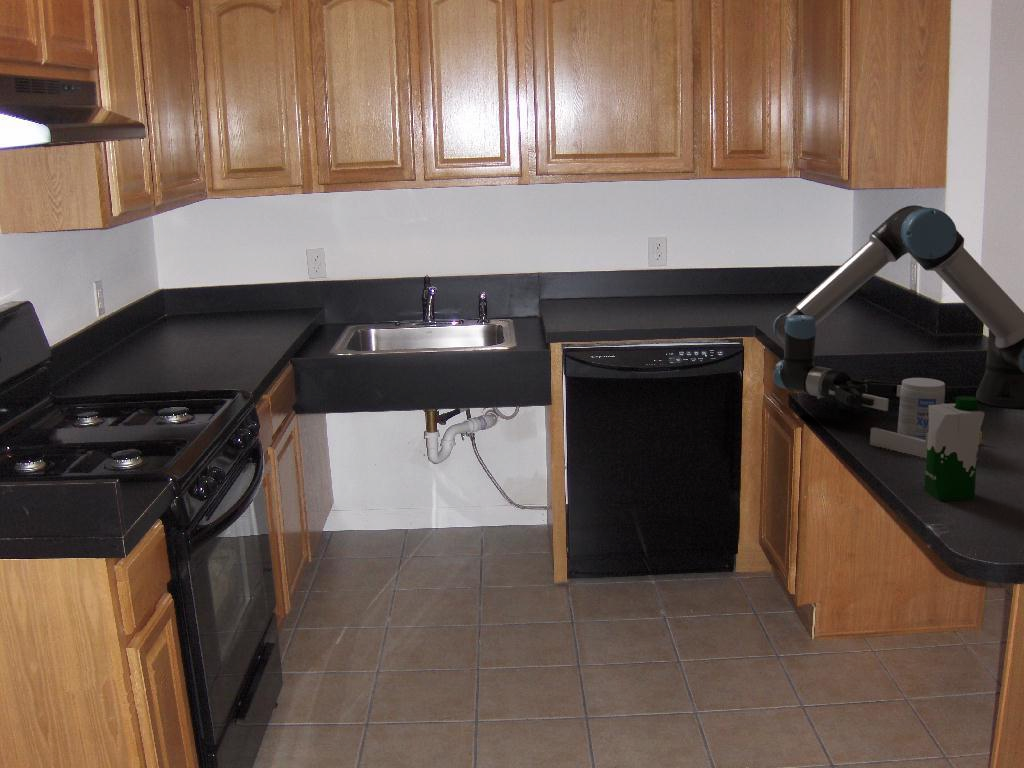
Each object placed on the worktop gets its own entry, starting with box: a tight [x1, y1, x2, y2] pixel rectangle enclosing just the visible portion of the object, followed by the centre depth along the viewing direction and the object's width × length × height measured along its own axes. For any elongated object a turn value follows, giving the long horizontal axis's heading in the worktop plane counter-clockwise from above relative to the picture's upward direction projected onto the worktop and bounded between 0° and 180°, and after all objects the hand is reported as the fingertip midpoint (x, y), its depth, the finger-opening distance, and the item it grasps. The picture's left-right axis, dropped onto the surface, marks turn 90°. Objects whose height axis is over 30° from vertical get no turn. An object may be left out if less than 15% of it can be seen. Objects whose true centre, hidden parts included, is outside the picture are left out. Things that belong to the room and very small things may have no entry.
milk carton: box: [923, 395, 986, 502], centre depth 207 cm, size 9×9×20 cm
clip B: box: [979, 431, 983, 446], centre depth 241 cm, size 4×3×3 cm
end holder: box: [869, 426, 928, 458], centre depth 240 cm, size 15×15×6 cm
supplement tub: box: [896, 377, 946, 440], centre depth 239 cm, size 10×10×15 cm
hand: (905, 400), depth 242 cm, fingers open, 13 cm apart
